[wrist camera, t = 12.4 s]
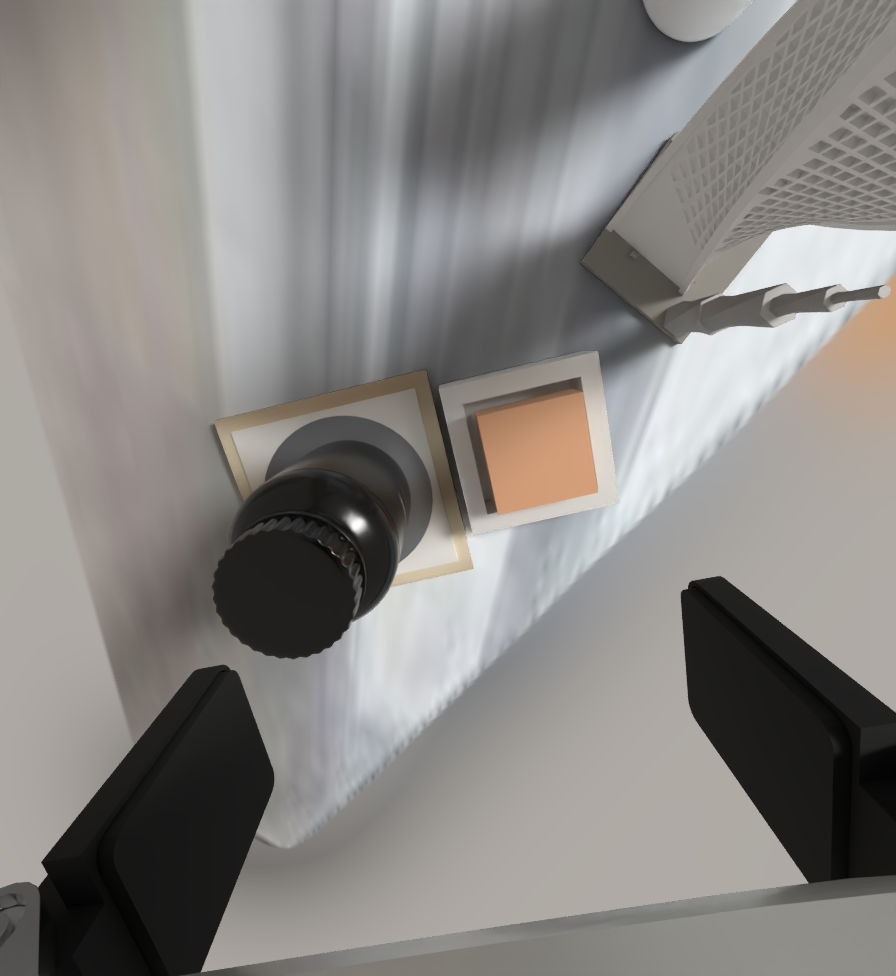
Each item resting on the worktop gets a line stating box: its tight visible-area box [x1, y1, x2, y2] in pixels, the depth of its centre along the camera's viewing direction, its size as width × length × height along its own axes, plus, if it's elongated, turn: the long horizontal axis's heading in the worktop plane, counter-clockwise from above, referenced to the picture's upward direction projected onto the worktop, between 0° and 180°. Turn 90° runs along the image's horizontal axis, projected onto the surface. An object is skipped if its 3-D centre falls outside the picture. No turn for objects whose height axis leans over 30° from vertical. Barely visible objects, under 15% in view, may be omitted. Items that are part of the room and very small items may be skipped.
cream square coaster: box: [214, 369, 473, 587], centre depth 28 cm, size 12×12×1 cm
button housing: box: [439, 351, 619, 535], centre depth 26 cm, size 8×8×3 cm
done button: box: [474, 388, 598, 515], centre depth 24 cm, size 5×5×2 cm
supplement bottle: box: [212, 440, 411, 659], centre depth 21 cm, size 7×7×12 cm
